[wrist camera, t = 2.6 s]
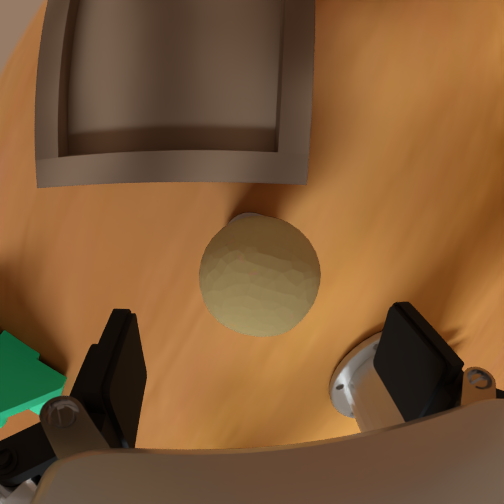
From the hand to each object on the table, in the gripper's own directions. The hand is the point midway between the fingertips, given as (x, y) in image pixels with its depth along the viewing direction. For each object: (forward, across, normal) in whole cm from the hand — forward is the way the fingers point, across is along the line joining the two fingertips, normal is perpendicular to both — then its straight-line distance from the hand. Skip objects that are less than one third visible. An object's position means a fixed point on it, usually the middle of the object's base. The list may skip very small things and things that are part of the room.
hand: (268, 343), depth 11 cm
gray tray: (+14, +4, -11) cm, 18 cm away
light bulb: (+14, -1, +1) cm, 14 cm away
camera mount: (+14, +24, +15) cm, 32 cm away
